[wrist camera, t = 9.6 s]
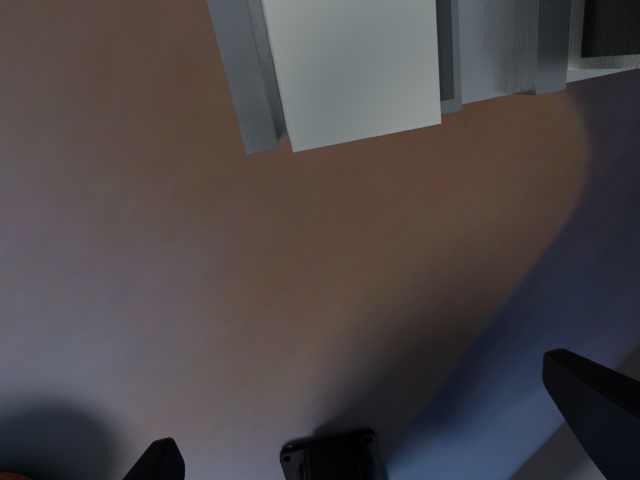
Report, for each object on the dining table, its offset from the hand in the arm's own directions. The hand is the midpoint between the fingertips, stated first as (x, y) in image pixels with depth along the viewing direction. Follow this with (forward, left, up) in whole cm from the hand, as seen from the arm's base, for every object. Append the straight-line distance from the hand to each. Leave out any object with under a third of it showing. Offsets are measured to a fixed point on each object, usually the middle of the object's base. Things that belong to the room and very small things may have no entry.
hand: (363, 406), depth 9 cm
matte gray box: (+8, -2, -10) cm, 13 cm away
